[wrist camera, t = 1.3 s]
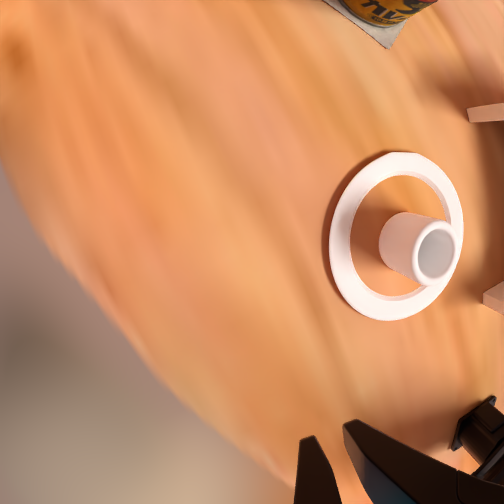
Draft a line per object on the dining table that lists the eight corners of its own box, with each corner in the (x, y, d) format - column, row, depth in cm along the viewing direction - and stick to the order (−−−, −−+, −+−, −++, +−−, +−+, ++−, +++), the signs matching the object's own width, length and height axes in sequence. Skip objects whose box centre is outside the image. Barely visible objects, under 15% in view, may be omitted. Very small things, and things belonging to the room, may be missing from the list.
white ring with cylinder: (386, 118, 19) (424, 108, 15) (475, 220, 22) (512, 229, 18) (288, 263, 20) (310, 284, 16) (401, 340, 23) (431, 366, 19)
